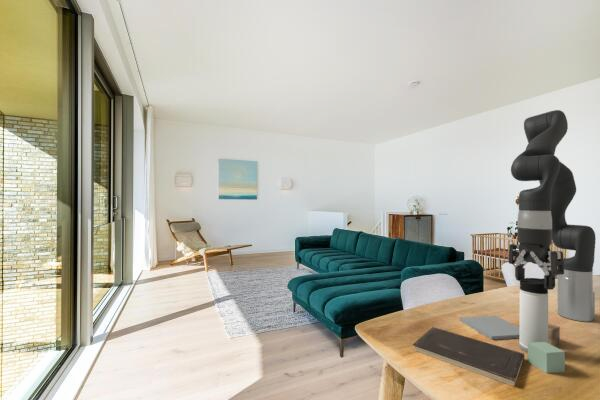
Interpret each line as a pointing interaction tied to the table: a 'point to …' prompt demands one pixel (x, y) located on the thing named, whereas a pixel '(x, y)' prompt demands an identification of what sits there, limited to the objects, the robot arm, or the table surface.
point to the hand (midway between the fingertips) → (533, 284)
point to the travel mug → (533, 312)
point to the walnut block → (553, 334)
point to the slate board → (492, 327)
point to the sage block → (546, 357)
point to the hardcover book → (471, 354)
